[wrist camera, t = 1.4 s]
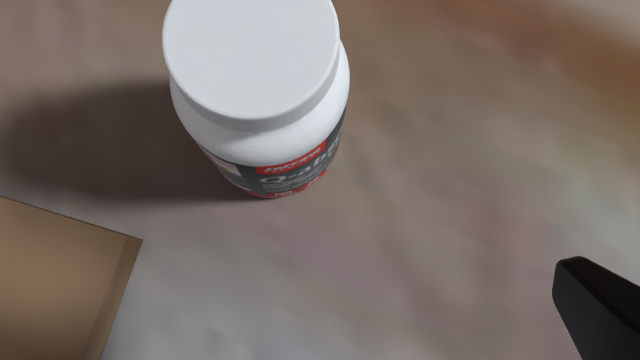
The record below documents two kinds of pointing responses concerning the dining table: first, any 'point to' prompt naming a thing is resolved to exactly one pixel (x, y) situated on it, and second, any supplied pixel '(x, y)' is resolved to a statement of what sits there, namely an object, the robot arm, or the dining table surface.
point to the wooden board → (58, 283)
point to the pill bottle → (259, 87)
